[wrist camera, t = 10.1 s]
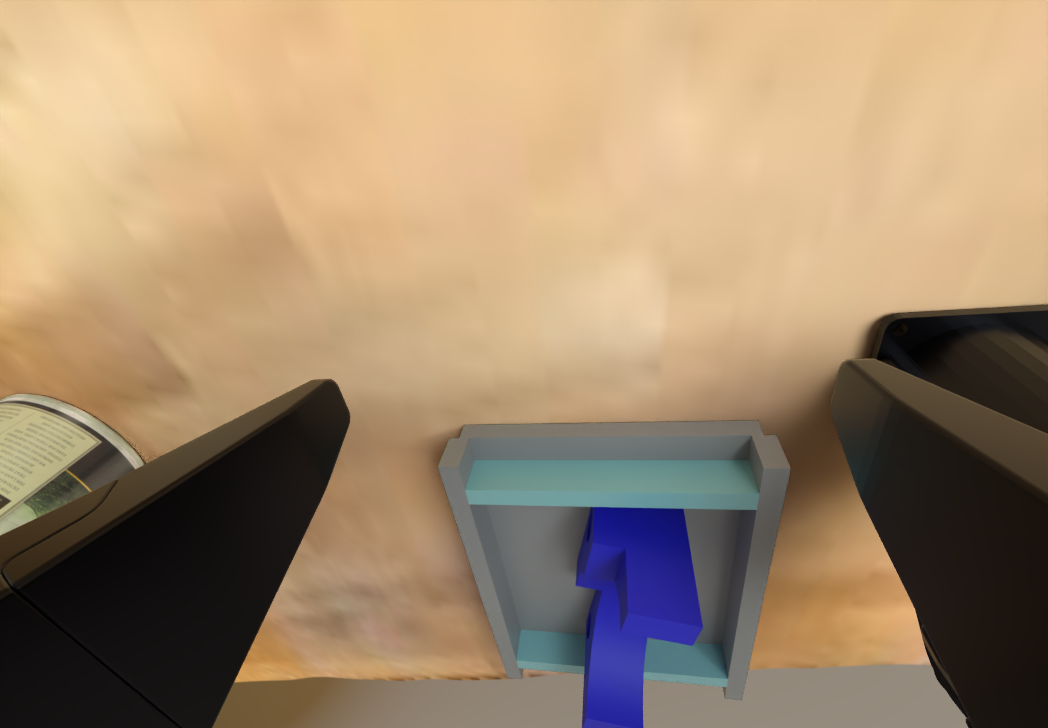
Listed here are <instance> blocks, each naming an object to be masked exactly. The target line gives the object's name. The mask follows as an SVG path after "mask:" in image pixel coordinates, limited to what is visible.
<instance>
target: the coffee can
mask: <svg viewBox="0 0 1048 728" xmlns="http://www.w3.org/2000/svg"><path fill="white" fill-rule="evenodd" d="M143 465H145V464H144V462H143V460H142V458H141V457H140V455H139V454H138V453H137V452H136V451H135V450H134V449H133V448H132V446H131V445H130V444H129V443H128V442H127V441H126V440H125V439H124V438H122V437H121V436H120V435H119V434H118V433H117V432H116V431H114V430H113V429H111V428H110V427H109V426H108V425H106V424H105V423H103V422H102V421H100V420H98V419H97V418H95V417H94V416H92V415H91V414H89V413H87V412H85V411H83V410H81V409H79V408H77V407H74V406H72V405H70V404H67V403H65V402H62V401H60V400H57V399H53V398H51V397H47V396H43V395H34V394H15V395H10V396H8V397H5V398H3V399H1V400H0V535H2V534H4V533H6V532H8V531H10V530H12V529H15V528H17V527H19V526H21V525H23V524H25V523H27V522H29V521H32V520H34V519H36V518H38V517H40V516H42V515H44V514H46V513H48V512H51V511H53V510H55V509H57V508H59V507H61V506H63V505H65V504H67V503H69V502H71V501H73V500H75V499H77V498H79V497H81V496H83V495H85V494H87V493H89V492H91V491H93V490H95V489H97V488H99V487H101V486H103V485H105V484H107V483H109V482H111V481H113V480H115V479H120V478H121V477H122V476H123V475H125V474H127V473H129V472H131V471H133V470H135V469H137V468H139V467H141V466H143Z"/></svg>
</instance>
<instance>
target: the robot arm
mask: <svg viewBox="0 0 1048 728" xmlns="http://www.w3.org/2000/svg"><path fill="white" fill-rule="evenodd" d="M899 324H902V326H901V327H900V328H899V329H897V330H894V331H892V330H893V328H894V327H895V326H897V325H899ZM831 414H832V417H833V420H834V423H835V426H836V429H837V432H838V435H839V438H840V441H841V444H842V446H843V449H844V452H845V455H846V458H847V461H848V464H849V467H850V470H851V473H852V475H853V478H854V481H855V484H856V487H857V489H858V492H859V495H860V497H861V499H862V501H863V504H864V506H865V508H866V510H867V512H868V514H869V516H870V518H871V520H872V522H873V524H874V526H875V528H876V530H877V533H878V535H879V537H880V539H881V541H882V543H883V545H884V547H885V549H886V551H887V553H888V555H889V557H890V559H891V561H892V563H893V565H894V567H895V569H896V571H897V573H898V575H899V577H900V579H901V581H902V583H903V585H904V587H905V589H906V591H907V593H908V595H909V597H910V599H911V601H912V604H913V606H914V608H915V610H916V614H917V618H918V622H919V626H920V630H921V633H922V638H923V641H924V645H925V649H926V652H927V655H928V657H929V660H930V663H931V665H932V667H933V669H934V673H935V675H936V678H937V680H938V681H939V683H940V684H941V685H942V686H943V688H944V689H945V690H946V691H947V693H948V694H949V696H950V697H951V699H952V700H953V701H954V703H955V704H956V705H957V706H958V708H959V709H960V710H961V711H962V713H963V714H964V715H965V716H966V718H967V719H966V723H967V726H968V727H969V728H1048V305H1035V306H1017V307H999V308H980V309H962V310H944V311H926V312H908V313H896V314H892V315H890V316H888V317H886V318H885V319H884V320H883V321H882V322H881V324H880V326H879V330H878V333H877V337H876V340H875V344H874V347H873V351H872V354H871V358H870V359H848V360H845V361H844V362H842V364H841V365H840V368H839V371H838V375H837V379H836V383H835V387H834V391H833V395H832V399H831ZM349 423H350V412H349V409H348V407H347V405H346V402H345V400H344V398H343V396H342V393H341V391H340V389H339V386H338V384H337V383H336V382H335V381H334V380H332V379H318V380H311V381H309V382H307V383H305V384H303V385H301V386H299V387H297V388H295V389H293V390H291V391H289V392H287V393H285V394H283V395H282V396H280V397H278V398H276V399H274V400H272V401H270V402H268V403H266V404H264V405H262V406H260V407H258V408H256V409H254V410H252V411H250V412H248V413H246V414H244V415H242V416H240V417H238V418H236V419H234V420H232V421H230V422H228V423H226V424H224V425H222V426H220V427H218V428H216V429H214V430H212V431H210V432H208V433H206V434H204V435H202V436H200V437H198V438H196V439H194V440H192V441H190V442H188V443H186V444H184V445H183V446H181V447H179V448H177V449H175V450H173V451H171V452H169V453H167V454H165V455H163V456H161V457H159V458H157V459H155V460H153V461H151V462H149V463H147V464H145V465H143V466H141V467H139V468H137V469H135V470H133V471H131V472H129V473H127V474H125V475H123V476H122V477H121V478H120V479H115V480H113V481H111V482H109V483H107V484H105V485H103V486H101V487H99V488H97V489H95V490H93V491H91V492H89V493H87V494H85V495H83V496H81V497H79V498H77V499H75V500H73V501H71V502H69V503H67V504H65V505H63V506H61V507H59V508H57V509H55V510H53V511H51V512H48V513H46V514H44V515H42V516H40V517H38V518H36V519H34V520H32V521H29V522H27V523H25V524H23V525H21V526H19V527H17V528H15V529H12V530H10V531H8V532H6V533H4V534H2V535H0V728H212V727H213V725H214V723H215V721H216V719H217V716H218V715H219V713H220V710H221V708H222V706H223V704H224V702H225V700H226V698H227V696H228V694H229V692H230V690H231V687H232V685H233V683H234V681H235V679H236V677H237V675H238V673H239V671H240V669H241V666H242V664H243V662H244V660H245V658H246V656H247V654H248V652H249V650H250V648H251V646H252V643H253V641H254V639H255V637H256V635H257V633H258V631H259V629H260V627H261V625H262V623H263V620H264V618H265V616H266V614H267V612H268V610H269V608H270V606H271V604H272V602H273V599H274V597H275V595H276V593H277V591H278V589H279V587H280V585H281V583H282V581H283V579H284V576H285V574H286V572H287V570H288V568H289V566H290V564H291V562H292V560H293V558H294V556H295V553H296V551H297V549H298V547H299V545H300V543H301V541H302V539H303V537H304V535H305V532H306V530H307V528H308V526H309V524H310V522H311V520H312V518H313V516H314V514H315V512H316V509H317V507H318V505H319V503H320V501H321V499H322V497H323V494H324V492H325V490H326V487H327V485H328V482H329V480H330V477H331V474H332V471H333V469H334V466H335V463H336V460H337V457H338V455H339V452H340V449H341V446H342V443H343V441H344V438H345V435H346V432H347V429H348V427H349Z"/></svg>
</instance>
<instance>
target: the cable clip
mask: <svg viewBox="0 0 1048 728" xmlns="http://www.w3.org/2000/svg"><path fill="white" fill-rule="evenodd" d="M576 586H579V587H584V588H590V589H595V590H596V591H595V594H594V597H593V600H592V604H591V607H590V610H589V613H588V617H587V620H586V640H585V666H584V691H583V692H584V693H583V717H582V728H643V676H644V663H645V653H646V645H647V638H648V637H649V638H654V639H659V640H664V641H669V642H674V643H679V644H684V645H690V646H693V644H694V643H695V641H696V639H697V637H698V636H699V634H700V632H701V631H702V629H703V624H702V618H701V611H700V605H699V599H698V593H697V587H696V581H695V575H694V569H693V563H692V557H691V551H690V545H689V538H688V532H687V526H686V520H685V514H684V509H676V508H626V507H591V509H590V513H589V517H588V521H587V525H586V529H585V533H584V537H583V540H582V544H581V548H580V552H579V556H578V560H577V571H576Z"/></svg>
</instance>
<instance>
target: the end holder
mask: <svg viewBox="0 0 1048 728" xmlns="http://www.w3.org/2000/svg"><path fill="white" fill-rule="evenodd" d="M438 470H439V473H440V476H441V479H442V482H443V485H444V488H445V491H446V494H447V497H448V500H449V503H450V506H451V509H452V512H453V515H454V518H455V521H456V524H457V527H458V530H459V533H460V536H461V539H462V542H463V545H464V548H465V551H466V554H467V557H468V560H469V563H470V566H471V569H472V572H473V575H474V578H475V581H476V584H477V587H478V590H479V593H480V596H481V599H482V602H483V605H484V608H485V611H486V614H487V617H488V620H489V623H490V626H491V629H492V632H493V635H494V638H495V641H496V644H497V647H498V650H499V653H500V656H501V659H502V662H503V665H504V668H505V671H506V674H507V677H508V678H516V679H522V676H523V669H534V670H544V671H555V672H566V673H577V674H584V666H585V640H586V620H587V617H588V613H589V610H590V607H591V604H592V600H593V597H594V594H595V591H596V590H595V589H590V588H584V587H579V586H576V571H577V560H578V556H579V552H580V548H581V544H582V540H583V537H584V533H585V529H586V525H587V521H588V517H589V513H590V509H591V507H626V508H676V509H684V514H685V520H686V526H687V532H688V538H689V545H690V551H691V557H692V563H693V569H694V575H695V581H696V587H697V593H698V599H699V605H700V611H701V618H702V624H703V629H702V631H701V632H700V634H699V636H698V637H697V639H696V641H695V643H694V644H693V646H690V645H684V644H679V643H674V642H669V641H664V640H659V639H654V638H649V637H648V638H647V645H646V653H645V663H644V676H643V680H655V681H665V682H676V683H688V684H697V685H698V684H699V685H708V686H719V687H723V691H724V697H725V699H734V700H742V697H743V692H744V688H745V683H746V678H747V674H748V669H749V664H750V660H751V655H752V650H753V645H754V641H755V636H756V631H757V626H758V622H759V617H760V612H761V608H762V603H763V598H764V593H765V589H766V584H767V579H768V574H769V570H770V565H771V560H772V556H773V551H774V546H775V541H776V537H777V532H778V527H779V522H780V518H781V513H782V508H783V503H784V499H785V494H786V489H787V485H788V480H789V475H790V470H791V467H790V465H789V463H788V461H787V458H786V456H785V454H784V451H783V449H782V447H781V445H780V442H779V440H778V438H777V435H764V434H763V432H762V429H761V427H760V424H759V422H758V420H749V421H686V422H622V423H559V424H496V425H464V427H463V429H462V432H461V435H460V437H459V438H449V441H448V443H447V446H446V448H445V451H444V453H443V455H442V458H441V460H440V463H439V465H438Z"/></svg>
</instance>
